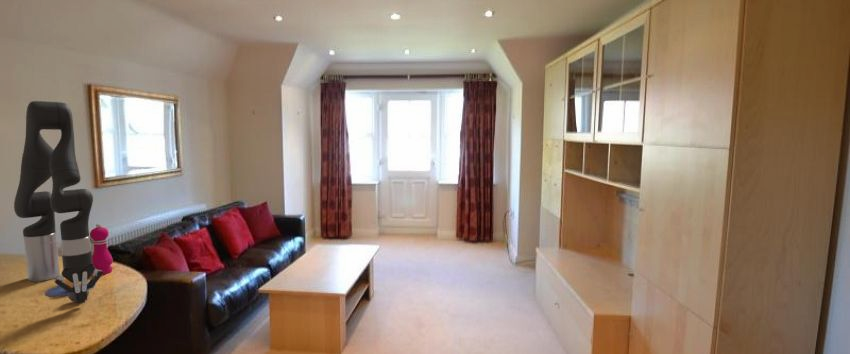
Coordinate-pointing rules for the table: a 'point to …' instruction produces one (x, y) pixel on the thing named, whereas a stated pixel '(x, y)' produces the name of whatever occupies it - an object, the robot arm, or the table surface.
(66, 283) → the object ball
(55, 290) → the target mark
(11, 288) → the table surface
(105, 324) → the table surface
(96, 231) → the pepper mill
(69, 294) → the gray ball
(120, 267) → the table surface
